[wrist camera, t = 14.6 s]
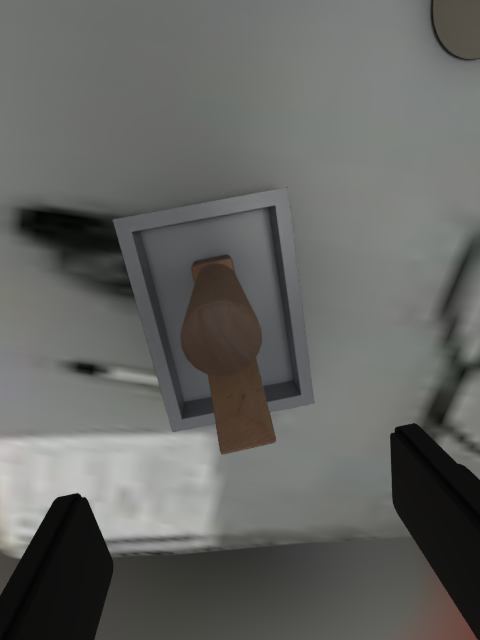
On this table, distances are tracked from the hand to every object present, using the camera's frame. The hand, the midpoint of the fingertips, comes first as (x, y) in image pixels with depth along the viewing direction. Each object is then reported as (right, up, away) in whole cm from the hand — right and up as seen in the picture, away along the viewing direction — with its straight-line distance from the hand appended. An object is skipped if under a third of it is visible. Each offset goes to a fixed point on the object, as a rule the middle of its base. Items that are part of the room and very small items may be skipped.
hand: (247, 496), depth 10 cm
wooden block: (-2, +6, +22) cm, 23 cm away
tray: (-2, +6, +23) cm, 24 cm away
